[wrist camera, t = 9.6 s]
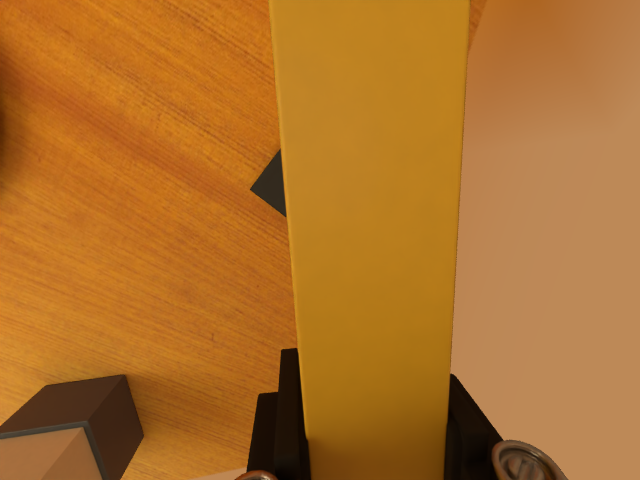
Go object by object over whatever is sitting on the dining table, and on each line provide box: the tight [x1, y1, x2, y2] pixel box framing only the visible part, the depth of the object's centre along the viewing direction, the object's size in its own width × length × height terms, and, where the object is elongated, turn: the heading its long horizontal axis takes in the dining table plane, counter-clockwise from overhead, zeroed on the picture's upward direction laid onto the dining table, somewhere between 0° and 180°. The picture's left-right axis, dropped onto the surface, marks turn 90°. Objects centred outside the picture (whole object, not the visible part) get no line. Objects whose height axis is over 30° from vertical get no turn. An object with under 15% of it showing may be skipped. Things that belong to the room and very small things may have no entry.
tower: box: [0, 375, 144, 480], centre depth 27 cm, size 8×8×12 cm
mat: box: [250, 148, 287, 217], centre depth 29 cm, size 8×8×1 cm
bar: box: [268, 0, 471, 480], centre depth 7 cm, size 14×3×3 cm, turn 3°
